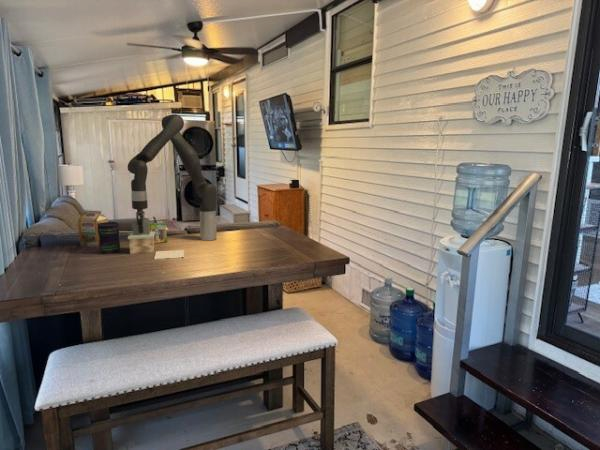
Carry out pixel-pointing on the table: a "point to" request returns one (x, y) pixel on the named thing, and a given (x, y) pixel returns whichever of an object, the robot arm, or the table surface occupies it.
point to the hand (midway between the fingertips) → (141, 232)
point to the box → (141, 245)
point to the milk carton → (90, 227)
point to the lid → (146, 231)
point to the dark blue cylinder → (108, 238)
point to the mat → (169, 254)
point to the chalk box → (158, 230)
